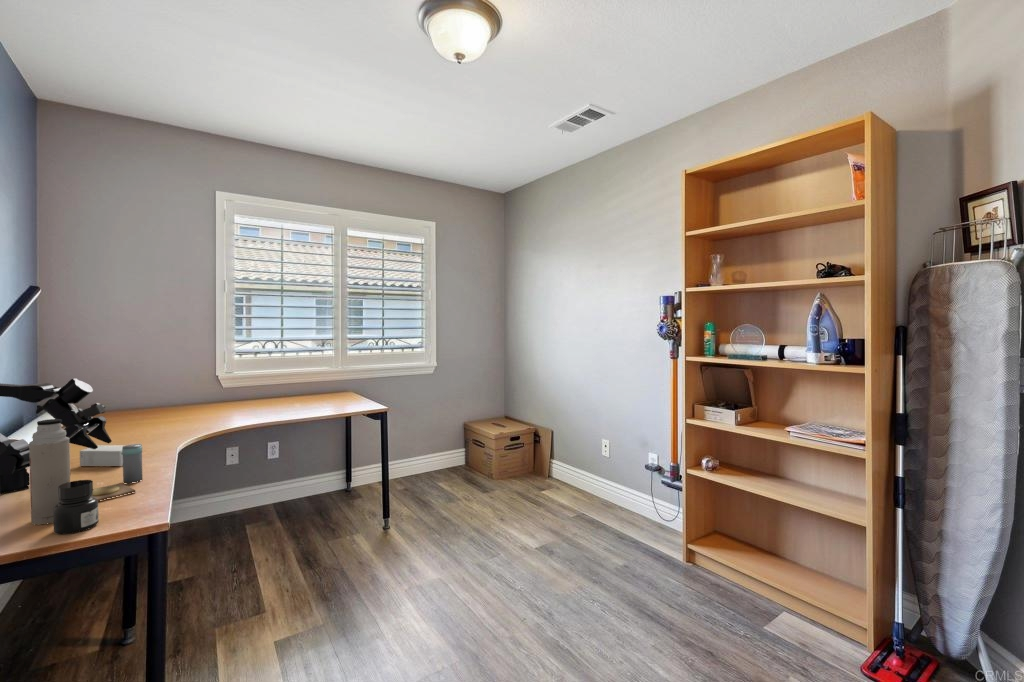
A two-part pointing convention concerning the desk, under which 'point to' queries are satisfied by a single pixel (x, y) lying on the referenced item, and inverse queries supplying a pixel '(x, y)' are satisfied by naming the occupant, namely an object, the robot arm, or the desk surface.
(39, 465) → the thermos bottle
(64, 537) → the desk surface
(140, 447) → the grey cylinder
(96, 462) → the skincare box
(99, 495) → the plate
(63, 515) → the ink bottle
